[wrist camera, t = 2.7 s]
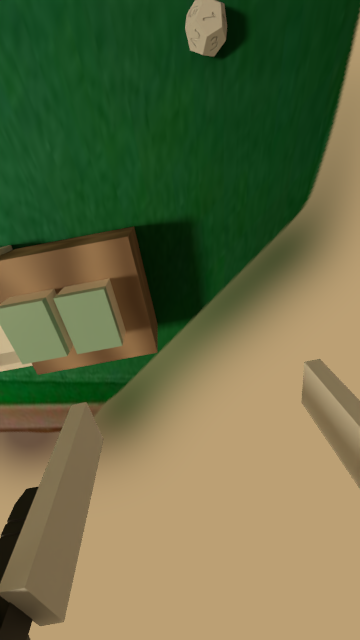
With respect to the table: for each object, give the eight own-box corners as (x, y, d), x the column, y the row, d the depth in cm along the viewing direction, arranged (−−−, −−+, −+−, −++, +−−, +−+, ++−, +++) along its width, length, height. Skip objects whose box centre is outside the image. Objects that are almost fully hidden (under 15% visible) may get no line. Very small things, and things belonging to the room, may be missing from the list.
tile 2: (85, 338, 28) (77, 354, 25) (64, 286, 25) (53, 298, 22) (125, 330, 28) (122, 345, 25) (109, 278, 25) (103, 289, 22)
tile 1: (35, 347, 28) (22, 364, 25) (9, 297, 25) (-9, 310, 22) (75, 340, 28) (67, 356, 25) (54, 288, 25) (42, 300, 22)
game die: (180, 11, 22) (183, -13, 19) (222, 5, 22) (231, -20, 19) (185, 66, 24) (189, 51, 21) (225, 60, 24) (234, 43, 21)
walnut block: (58, 342, 36) (37, 374, 29) (15, 248, 30) (-23, 264, 23) (157, 323, 36) (157, 352, 29) (134, 226, 30) (127, 236, 23)
